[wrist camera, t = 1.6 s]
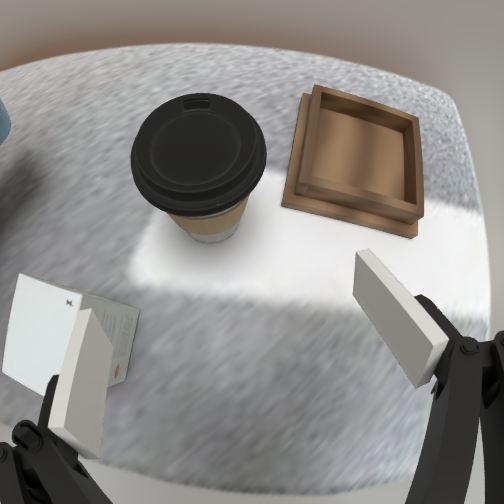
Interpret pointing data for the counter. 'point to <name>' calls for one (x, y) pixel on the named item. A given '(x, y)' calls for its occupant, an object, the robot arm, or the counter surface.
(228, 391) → the counter surface
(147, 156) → the coffee cup
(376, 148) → the wooden tray
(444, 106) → the counter surface
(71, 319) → the small box
